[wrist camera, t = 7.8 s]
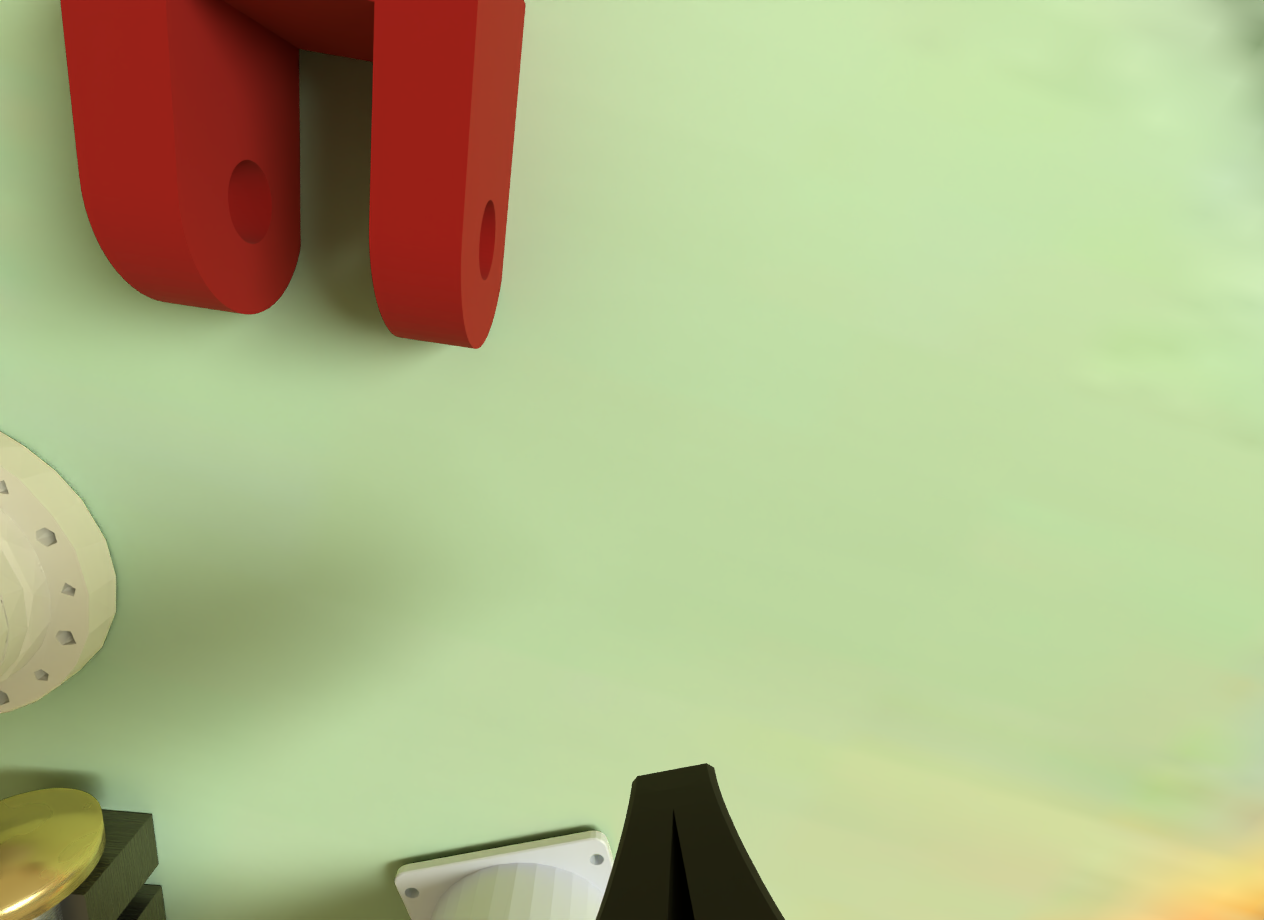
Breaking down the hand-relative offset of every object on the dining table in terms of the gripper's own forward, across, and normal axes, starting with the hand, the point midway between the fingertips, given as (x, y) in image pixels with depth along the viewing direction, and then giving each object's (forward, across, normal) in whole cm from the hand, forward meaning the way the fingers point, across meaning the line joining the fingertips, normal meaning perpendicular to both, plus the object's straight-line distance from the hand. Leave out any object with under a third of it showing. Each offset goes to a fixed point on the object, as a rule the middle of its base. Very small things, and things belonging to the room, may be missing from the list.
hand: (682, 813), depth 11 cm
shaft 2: (+9, +22, +7) cm, 25 cm away
